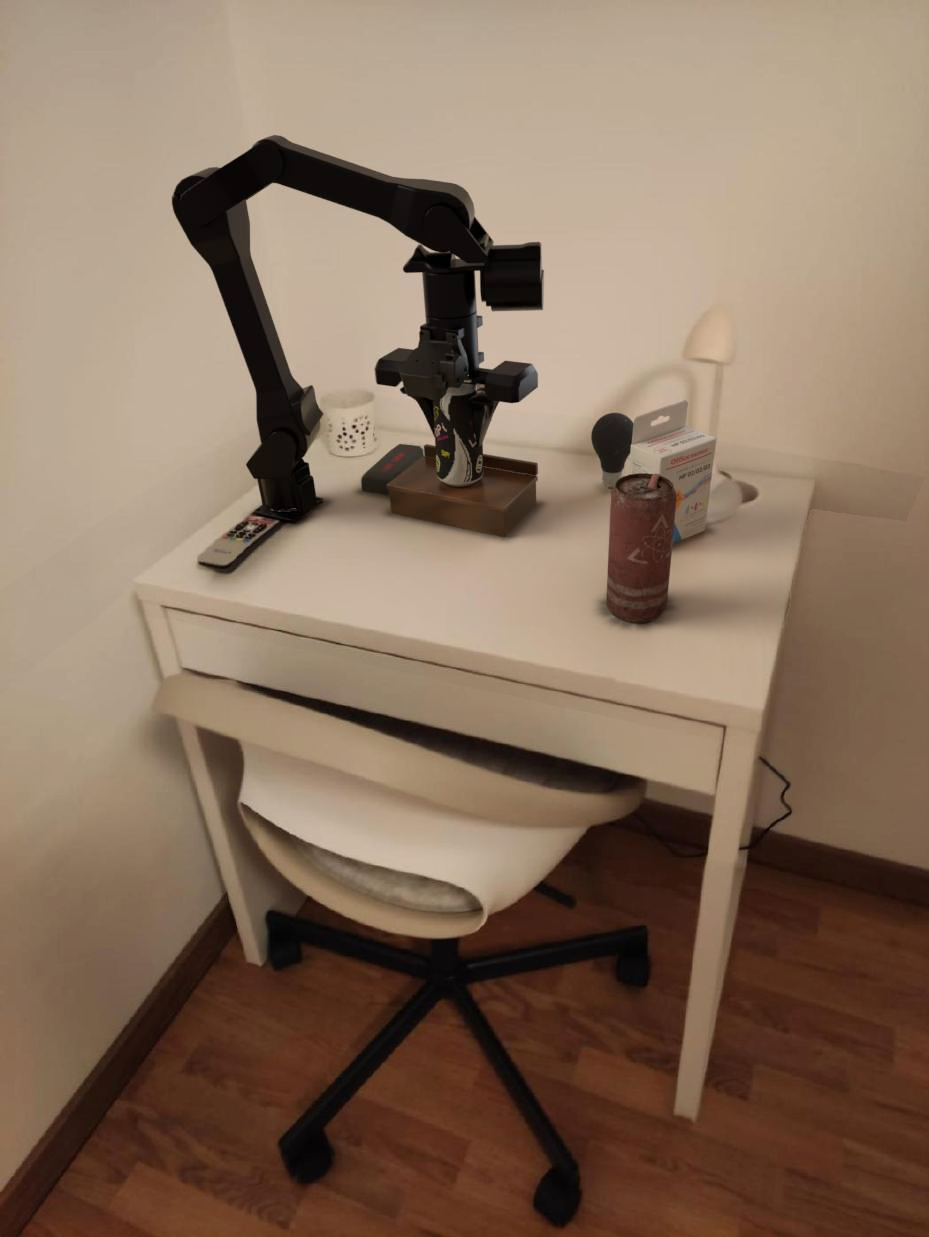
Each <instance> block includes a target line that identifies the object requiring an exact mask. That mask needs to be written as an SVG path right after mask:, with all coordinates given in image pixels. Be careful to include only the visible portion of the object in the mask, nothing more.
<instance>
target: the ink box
mask: <svg viewBox="0 0 929 1237" xmlns="http://www.w3.org/2000/svg"><path fill="white" fill-rule="evenodd" d="M688 404H689V402H688V401H687V399H684V400H682V401H678V402H676V403H673V404H669V405H667V406H666V405H665V406H663V407H660V408H657V409H654V410H651V411H648V412H645V413H642V414H640V415H636V416H635V417H634V419H633V423H634V425H633V435H632V444H631V451H630V455H629V468H628V475H630V474H637V473H648V474H660V476H663V477H665V478H667V479H669V480H670V481H671V482H672V483H673V486H674V489H675V491H676V495H677V500H676V511H675V522H674V532H673V543H672V544H675V543H678V542H680V541H682V540H685V539H687V538H690V537H692V536H695V535H698V534H700V533H702V532H704V531H705V530H706V525H707V518H708V508H709V501H710V494H711V493H710V492H711V484H712V478H713V477H712V476H713V470H714V468H713V467H714V459H715V453H716V445H717V437H714V436H712V435H710V434H707V433H704V432H702V431H700V430H697V429H695V428H693V427H690V426H688V425H687V424H686V422H687V416H688V415H687V414H688V408H689V406H688ZM660 417H663V418H665V417H666V418H667V417H669V418H668V420H666V421H663V422H659V423H657V424H654V425H652V423H653V422H654V421H657V420H658V419H659V418H660Z"/></svg>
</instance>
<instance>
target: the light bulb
mask: <svg viewBox="0 0 929 1237" xmlns="http://www.w3.org/2000/svg"><path fill="white" fill-rule="evenodd" d="M633 425H634V421H632V419H631V418H630V417H629V416H627V415H626V414H624V413H620V412H609V413H605V414H604V415H602V416H601V417H600V418H599V419H598V420H596V421H595V424H594V425H593V427H592V429H591V433H590V434H591V435H590V439H591V444H592V447H593V450H594V452H595V454H596V455H597V457H598V458H599V462H600V468H601V470H602V476H601V477H602V478H601V480H602V484H603V486H604V487H607V489H608V490H613V488H614V487H615V483H616V482H617V480H619V479H620V478H622V477H623V472H624V468H625V465H626V462H627V459H628V457H630V451H631V444H632V435H633Z"/></svg>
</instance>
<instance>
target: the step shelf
mask: <svg viewBox="0 0 929 1237" xmlns="http://www.w3.org/2000/svg"><path fill="white" fill-rule="evenodd" d="M423 445H424V452H425V456H423V457H422V458H421V459H419V460H418V461H417V462H415V463H414V464H413V465H412V466H410V467H409V468H408V469H406V470H405V471H404V472H402V473H401V474H400V475H398V476H397V477H396V478H395V479H393V480H392V481H391V482H389V483H388V484H387V485H386V486H387V489H389V495H388V496H389V505H390V513H391V514H393V515H397V516H402V517H408V518H412V519H416V520H422V521H427V522H430V523H431V522H432V523H436V524H441V525H445V526H451V527H455V528H460V529H464V530H469V531H474V532H479V533H483V534H488V535H492V536H498V537H502V538H506V537H507V536H508V535H509V534H510V533H511V531H513V530H514V529H515V528H516V527H517V525H519V523H520V522H521V521H522V520H523V519H524V518H525V517H526V516H527V515H528V514H529V513H530V512H531V511H532V510H533V509H534V508H535V507H536V506H537V482H538V480H539V476H538V474H539V464H538V462H535V461H530V460H529V461H528V460H522V459H516V458H510V457H505V456H498V455H492V454H486V453H483V476H482V478H481V479H479V480H478V481H476V482H475V483H473V484H471V485H469V486H464V487H455V486H450V485H448V484H446V483H444V482H442V481H441V480H440V479H438V477H437V466H436V448H435V444H427V443H426V444H423Z"/></svg>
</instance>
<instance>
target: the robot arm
mask: <svg viewBox="0 0 929 1237" xmlns="http://www.w3.org/2000/svg"><path fill="white" fill-rule="evenodd" d="M273 184H278V185H280V186H283V187H286V188H289V189H292V190H295V191H297V192H300V193H304V194H306V195H310V196H313V197H316V198H318V199H322V200H325V201H327V202H330V203H334V204H337V205H340V206H343V207H345V208H348V209H351V210H354V211H357V212H361V213H364V214H366V215H369V216H372V217H376V218H378V219H380V220H382V221H384V222H385V223H387V224H389V225H390V226H392V227H393V228H394V229H396V230H397V231H398V232H400V233H402V235H403V236H405V237H407V238H409V239H410V240H412V241H414V242H416V243H418V245H417V246H416V247H415V249H414V251H413V253H412V255H411V257H409V258H407V261H406V262H405V263H404V264H403V267H402V271H403V273H405V274H417V273H419V274H420V273H421V276H422V290H423V301H424V302H423V303H424V315H425V316H424V317H425V323H424V324H422V325H419V332H418V336H419V337H418V338H419V340H418V344H417V347H416V348H413V349H412V348H405V347H397V348H395V349H394V350H392V351H391V352H389V353H387V354H385V355H383V356H382V357H380V358H378V360H377V361H376V363H375V366H374V378H375V383H376V385H379V386H385V387H393V388H397V387H399V385H400V384H401V383H402V385H403V386H402V387H400V389H399V391H400V392H401V393H400V394H403V395H406V396H407V397H410V398H411V399H413V400H414V401H415V402H416V403H417V405H418V406H419V407H420V409H421V411H422V413H423V416H424V417H425V419H426V422H427V424H428V425H429V428H430V430H431V433H432V435H433V437H434V438H435V429H434V411H433V400H439V399H441V398H443V397H444V396H445V395H446V393H447V390H448V388H450V387H452V388H460V386H461V385H462V383H464V384H471V385H476V390H477V394H476V395H474V396H473V397H471V398H470V399H469V400H468V402H469V404H470V405H471V407H472V409H473V426H474V431H475V437H476V443H477V448H478V447H479V446H480V445H482V443H483V444H484V440H485V438H486V435H487V432H488V430H489V427H490V424H491V421H492V418H493V417H494V414H495V412H496V410H497V407H498V405H499V404H500V403H507V404H517V403H521V401H523V400H524V399H525V398H527V396H529V395H530V394H531V393H533V392H534V391H535V390H536V389H537V388H539V373H538V371H537V369H536V368H535V366H534V364H533V363H530V362H529V363H528V362H521V361H514V360H513V361H512V360H504V361H502V362H501V363H500V364H498V365H496V366H495V367H494V368H484V367H480V364H482V363H483V362H485V352H484V351H479V334H478V333H479V332H478V329H479V328H481V327H482V326H483V325H484V322H483V321H484V320H483V315H478V310H477V309H478V308H477V288H476V286H477V285H476V272H479V291H480V292H479V293H480V300H481V303H485V307H490V309H491V312H523V311H524V312H525V311H526V312H527V311H531V312H532V311H544V300H545V298H544V297H545V269H543V255H542V243H541V242H540V241H531V242H530V241H528V242H524V243H521V244H495V241H494V240H493V238H492V237H491V236H490V235H489V233H488V232H487V230H486V229H485V228H484V226H483V225H482V224H481V222H480V220H478V218H477V217H476V211H475V205H474V204H475V203H474V202H473V200H472V197H471V196H470V194H469V191H467V190H466V189H465V188H464V187H463V186H462V185H460V184H457V183H454V182H448V181H441V180H433V179H425V178H410V177H409V178H407V177H398V176H392V175H389V174H386V173H384V172H381V171H377V170H374V169H371V168H368V167H366V166H363V165H359V164H357V163H354V162H351V161H349V160H348V161H347V160H344V159H343V158H339V157H336V156H333V155H330V154H327V153H325V152H321V151H318V150H316V149H313V148H310V147H307V146H304V145H301V144H298V143H295V142H292V141H291V140H289V139H288V138H286V137H285V136H282V135H277V134H273V135H269V136H266V137H263V138H262V139H259V140H257V141H256V142H255V143H254V144H253V145H252V146H251V148H250V149H249V148H248V150H246V151H245V152H244V153H242V154H240V155H239V156H237V157H236V158H234V159H233V160H231V161H229V162H228V163H226V164H225V165H223V166H221V167H218V166H213V167H210V166H209V167H207V168H205V169H203V170H202V169H201V170H200V171H198V172H195V173H193V174H191V175H188V176H186V177H184V178H182V179H181V180H180V181H179V182H178V183H177V184H176V185H175V188H174V190H173V193H172V196H171V206H172V211H173V213H174V216H175V219H176V220H177V221H178V222H177V223H178V224H179V226H180V227H181V229H182V231H183V233H184V235H185V236H186V239H187V240H188V242H189V243H190V245H191V247H192V248H193V250H195V251H196V252H197V253H198V254H199V256H200V257H201V258H202V259H203V261H205V263H206V264H207V265H208V267H209V268H210V270H211V272H212V275H213V278H214V281H215V283H216V285H217V288H218V292H219V293H220V297H221V299H222V303H223V304H224V307H225V310H226V313H227V316H228V318H229V322H230V324H231V326H232V328H233V332H234V334H235V337H236V341H237V344H238V346H239V349H240V350H241V354H242V356H243V359H244V362H245V365H246V367H247V370H248V374H249V375H250V378H251V381H252V384H253V387H254V390H255V404H256V406H255V407H256V410H255V411H256V412H255V413H256V418H255V419H256V424H257V429H258V435H259V441H260V444H259V446H258V447H257V448H256V450H255V451H254V452H253V453H252V455H250V458H249V459H248V460H247V462H246V463H245V466H246V468H247V470H248V471H249V473H250V475H251V477H252V479H254V480H257V486H258V490H259V496H260V500H261V504H262V505H260V506H258V507H257V508H256V509H254V514H255V515H256V516H260V517H266V518H270V519H274V520H279V521H282V522H288V523H292V524H293V523H297V522H299V520H301V519H302V518H304V517H305V516H306V515H308V514H310V513H311V512H313V510H314V509H316V508H318V507H319V506H321V505H322V504H323V503H324V498H323V497H320V496H317V492H316V486H315V479H314V476H313V475H312V474H311V470H310V469H311V468H310V464H309V462H307V461H305V460H304V459H303V458H304V457H305V455H307V452H308V451H309V450H310V448H311V446H312V445H313V443H314V441H315V440H316V438H317V436H318V435H319V433H320V430H321V423H322V422H321V419H322V418H323V416H324V412H323V411H322V409H321V408H320V407H319V404H318V401H317V397H316V390H315V388H314V385H312V384H310V385H307V386H306V387H305V386H304V387H302V386H301V384H299V382H298V381H297V380H296V379H295V377H294V376H293V374H292V372H291V369H290V367H289V363H288V360H287V358H286V354H285V351H284V349H283V346H282V343H281V340H280V337H279V334H278V331H277V328H276V325H275V323H274V319H273V316H272V313H271V311H270V307H269V305H268V302H267V298H266V296H265V293H264V290H263V287H262V284H261V280H260V279H259V278H260V277H259V275H258V272H257V270H256V267H255V264H254V261H253V258H252V253H251V221H250V215H249V209H248V203H247V201H248V200H249V199H251V198H252V197H254V196H256V195H257V194H258V193H260V192H261V191H263V190H264V189H266V188H268V187H269V186H270V185H273ZM426 248H427V249H426ZM428 249H429V250H431V251H429V250H428ZM432 251H433V252H432ZM456 257H457V258H456ZM266 506H267V507H268V508H269V509H273V510H275V509H276V510H281V509H291V508H296V509H297V511H291V512H274V511H271V510H269V509H268V508H267V507H266Z"/></svg>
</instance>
